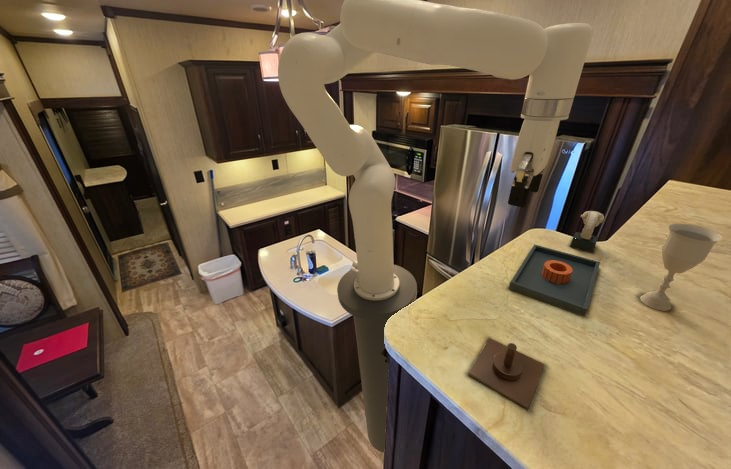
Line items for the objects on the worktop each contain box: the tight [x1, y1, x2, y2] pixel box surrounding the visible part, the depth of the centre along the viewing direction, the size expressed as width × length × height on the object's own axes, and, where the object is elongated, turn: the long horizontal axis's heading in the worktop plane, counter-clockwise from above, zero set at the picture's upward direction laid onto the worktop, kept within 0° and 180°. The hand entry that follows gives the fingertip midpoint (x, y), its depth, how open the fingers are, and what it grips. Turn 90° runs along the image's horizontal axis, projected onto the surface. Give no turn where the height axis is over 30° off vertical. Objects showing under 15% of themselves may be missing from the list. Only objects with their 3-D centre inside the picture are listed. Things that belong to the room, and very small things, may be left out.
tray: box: [508, 243, 601, 317], centre depth 73 cm, size 16×22×2 cm
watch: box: [569, 210, 605, 254], centre depth 83 cm, size 6×8×11 cm
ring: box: [542, 260, 573, 284], centre depth 73 cm, size 6×6×3 cm
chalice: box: [639, 223, 723, 312], centre depth 60 cm, size 7×7×18 cm
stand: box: [467, 337, 545, 410], centre depth 51 cm, size 10×10×6 cm
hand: (523, 197), depth 60 cm, fingers open, 9 cm apart
